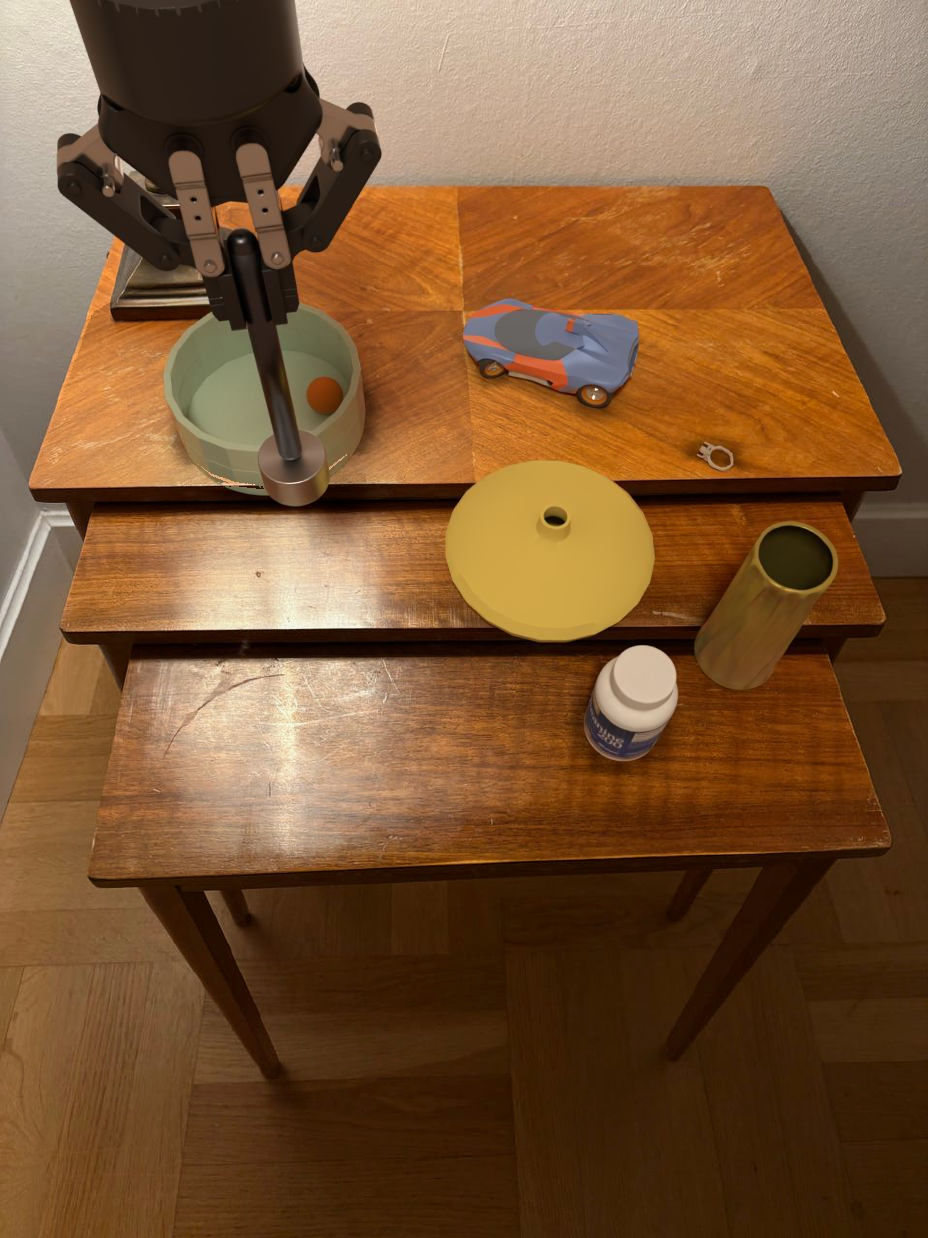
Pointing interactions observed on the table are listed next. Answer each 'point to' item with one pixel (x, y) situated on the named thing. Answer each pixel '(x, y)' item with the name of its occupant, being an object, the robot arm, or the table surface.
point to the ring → (707, 454)
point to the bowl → (259, 393)
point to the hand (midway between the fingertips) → (257, 313)
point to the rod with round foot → (275, 389)
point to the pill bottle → (631, 703)
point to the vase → (765, 605)
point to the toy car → (554, 348)
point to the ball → (324, 395)
